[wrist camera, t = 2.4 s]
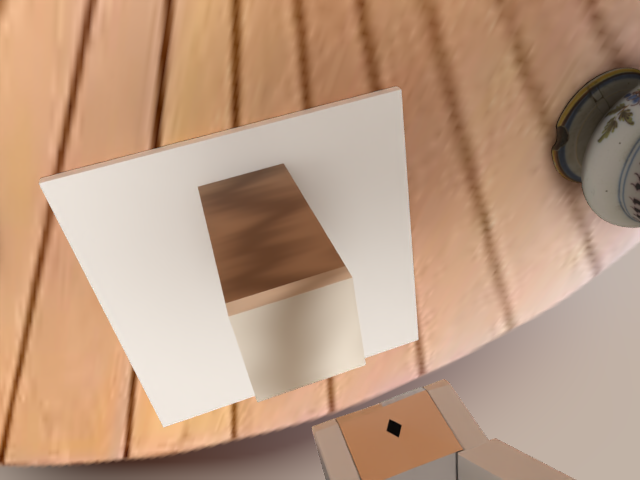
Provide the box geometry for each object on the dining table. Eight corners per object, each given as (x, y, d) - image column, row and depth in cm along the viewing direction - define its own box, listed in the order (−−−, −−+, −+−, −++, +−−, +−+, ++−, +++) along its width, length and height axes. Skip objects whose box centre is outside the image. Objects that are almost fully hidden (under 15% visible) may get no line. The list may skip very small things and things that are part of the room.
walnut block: (283, 163, 36) (352, 277, 25) (298, 235, 40) (365, 364, 28) (197, 186, 35) (228, 316, 24) (220, 258, 39) (257, 402, 27)
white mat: (396, 86, 37) (401, 89, 36) (414, 334, 50) (418, 339, 49) (40, 178, 33) (38, 183, 32) (163, 420, 46) (163, 427, 46)
